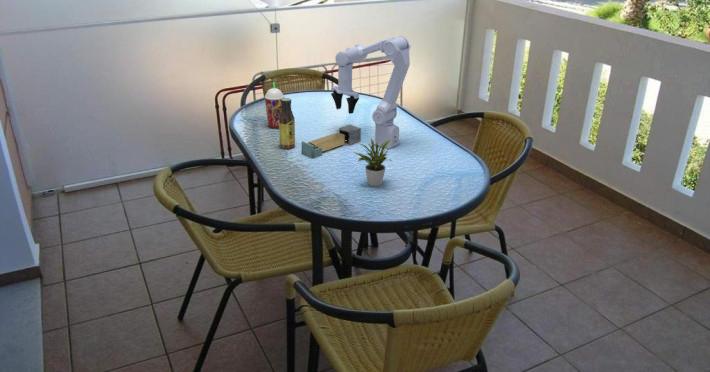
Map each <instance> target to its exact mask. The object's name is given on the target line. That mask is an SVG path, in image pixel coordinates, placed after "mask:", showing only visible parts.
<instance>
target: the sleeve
mask: <svg viewBox="0 0 710 372" xmlns="http://www.w3.org/2000/svg"><path fill="white" fill-rule="evenodd" d="M338 133H341V134H344V135H345V140H347V141H345V142H344V144H343V145H346V146H347V145H348V146H351V145H355V144H358V143H360V142H361V141H362V140H361V138H362V129H361V127H358V126H356V125H352V124H347V125H345V126H341V127H339V128H338Z"/></svg>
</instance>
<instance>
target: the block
mask: <svg viewBox="0 0 710 372" xmlns="http://www.w3.org/2000/svg"><path fill="white" fill-rule="evenodd" d="M344 142H345V135H344V134H341V133H339V131H338V132H335V133H332V134H328V135H326V136H322V137H319V138H317V139H313V140H310V141H308V142H307V143H308V144H311V145H313V146H314V149H317V148H320V147H322V153H324V152H325V151H328V150H332V149H334V148H336V147H340V146H343V145H345V144H344Z"/></svg>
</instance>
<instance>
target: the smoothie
mask: <svg viewBox="0 0 710 372" xmlns="http://www.w3.org/2000/svg"><path fill="white" fill-rule="evenodd" d="M272 85H273V86H272V87H271V88H269V89H268V90H267V92H266V94H265V95H264V101H265V109H266V110H265V111H266V118H267V120H266V121H267V124H268V126H269V128H272V129H279V115H280V113H281V111H282V103H281V99H283V98H285V95H284V94H283V92H282V90H281V89H279V88H277V87H275V86H276V83H275V81H273V82H272Z"/></svg>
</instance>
